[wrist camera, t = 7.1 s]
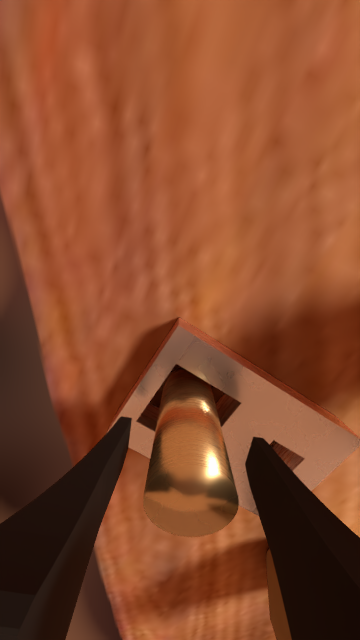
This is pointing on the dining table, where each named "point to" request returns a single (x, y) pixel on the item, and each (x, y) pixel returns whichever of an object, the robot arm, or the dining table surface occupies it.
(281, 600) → the squeeze bottle
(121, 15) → the dining table surface
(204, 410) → the brass fitting
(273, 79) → the dining table surface
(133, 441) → the plate
